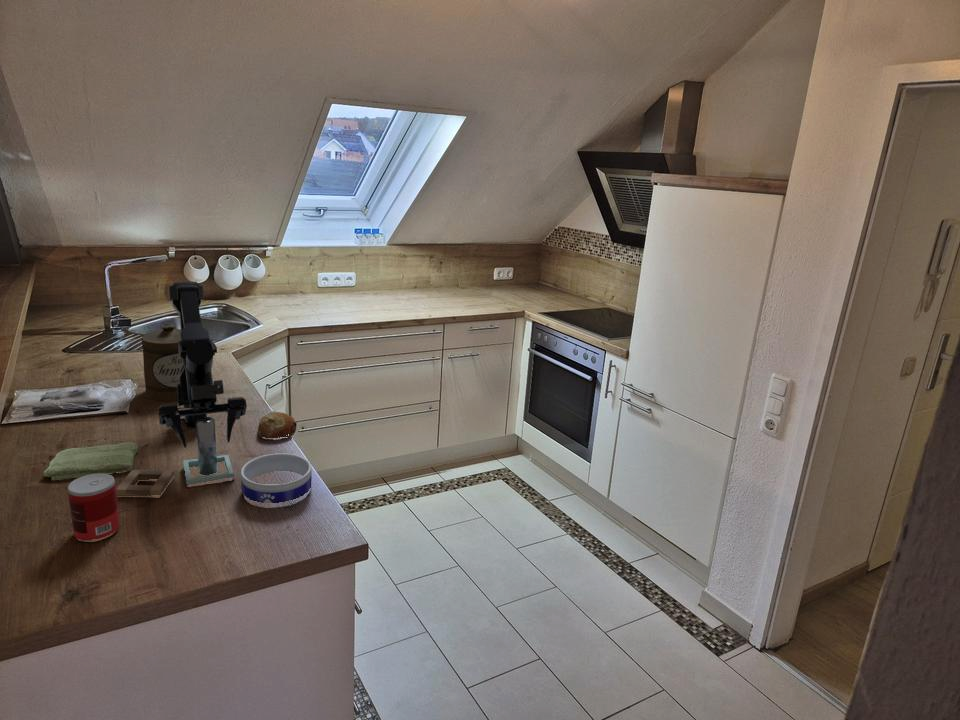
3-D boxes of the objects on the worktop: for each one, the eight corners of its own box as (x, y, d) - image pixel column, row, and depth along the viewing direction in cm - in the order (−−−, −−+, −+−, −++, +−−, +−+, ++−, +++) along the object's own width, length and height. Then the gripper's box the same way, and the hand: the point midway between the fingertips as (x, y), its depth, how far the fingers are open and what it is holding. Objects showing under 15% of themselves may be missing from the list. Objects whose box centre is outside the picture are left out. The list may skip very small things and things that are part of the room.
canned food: (127, 522, 130) (122, 473, 127) (106, 545, 123) (100, 494, 119) (88, 520, 130) (82, 471, 127) (65, 543, 122) (58, 492, 119)
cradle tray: (183, 468, 153) (183, 460, 152) (228, 461, 157) (228, 454, 157) (186, 488, 144) (186, 480, 144) (234, 481, 149) (233, 473, 148)
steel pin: (195, 472, 150) (191, 421, 145) (208, 465, 153) (205, 415, 149) (208, 477, 148) (204, 425, 144) (221, 469, 152) (218, 419, 147)
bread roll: (264, 438, 179) (250, 415, 176) (298, 421, 181) (285, 398, 178) (265, 454, 170) (251, 430, 167) (301, 436, 172) (288, 412, 169)
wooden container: (161, 405, 186) (156, 332, 179) (136, 391, 194) (130, 321, 187) (209, 393, 197) (205, 324, 190) (183, 380, 205) (179, 313, 198)
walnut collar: (133, 477, 147) (132, 469, 146) (174, 478, 148) (174, 470, 147) (116, 497, 138) (115, 489, 138) (160, 498, 140) (159, 490, 139)
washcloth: (56, 457, 154) (54, 445, 153) (139, 451, 160) (138, 439, 159) (42, 484, 142) (40, 471, 141) (132, 476, 148) (131, 463, 147)
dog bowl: (239, 512, 137) (238, 487, 135) (243, 477, 151) (242, 454, 149) (313, 506, 142) (313, 482, 140) (310, 473, 155) (310, 451, 154)
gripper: (155, 371, 142) (161, 437, 136) (244, 365, 151) (253, 426, 145) (156, 392, 151) (162, 455, 145) (240, 385, 160) (248, 443, 154)
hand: (207, 444), depth 147 cm, fingers open, 9 cm apart
